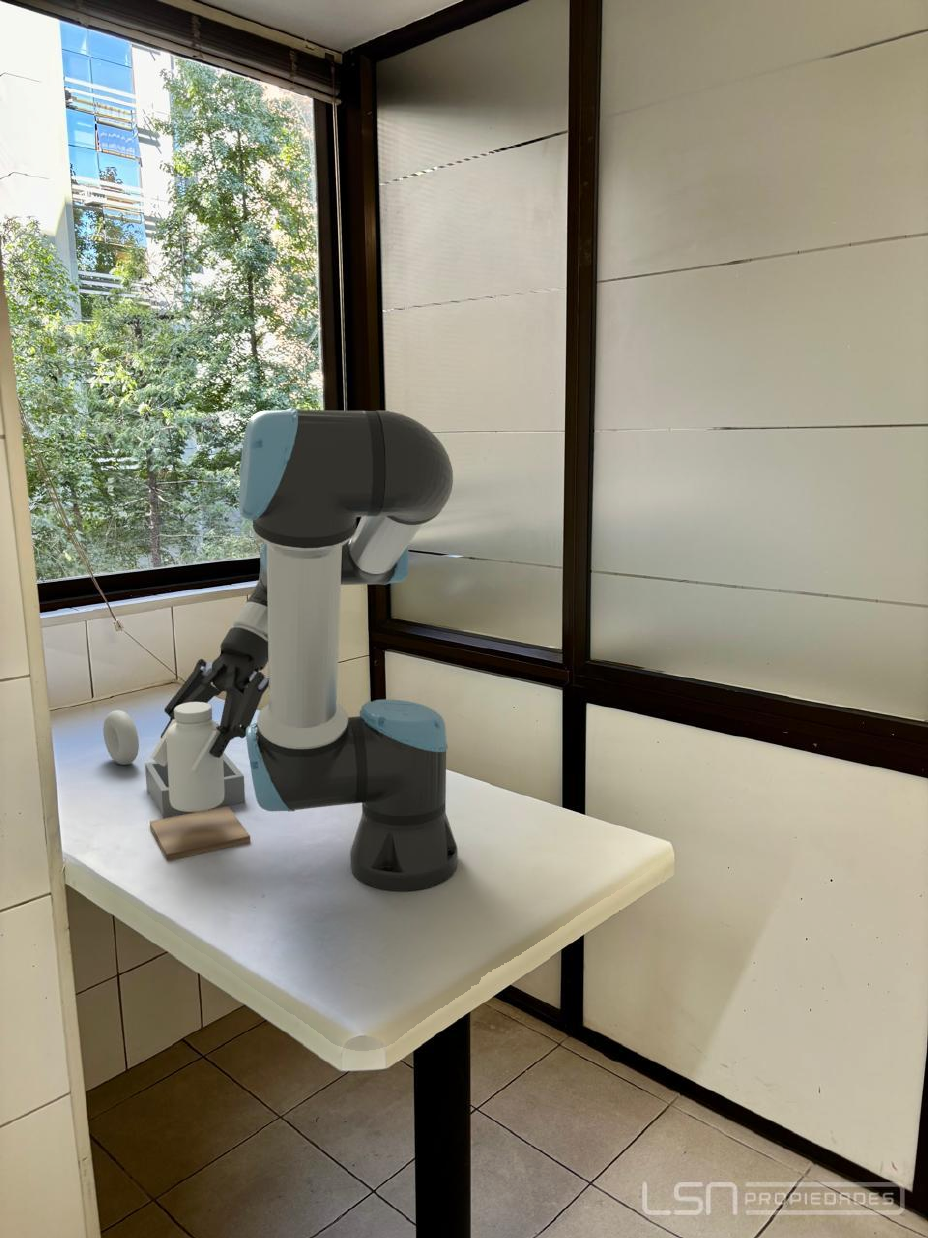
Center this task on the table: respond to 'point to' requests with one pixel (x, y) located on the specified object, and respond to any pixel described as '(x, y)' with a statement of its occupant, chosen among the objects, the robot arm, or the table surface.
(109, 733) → the donut
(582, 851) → the table surface
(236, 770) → the sleeve
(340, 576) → the robot arm
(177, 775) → the pill bottle
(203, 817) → the pad
